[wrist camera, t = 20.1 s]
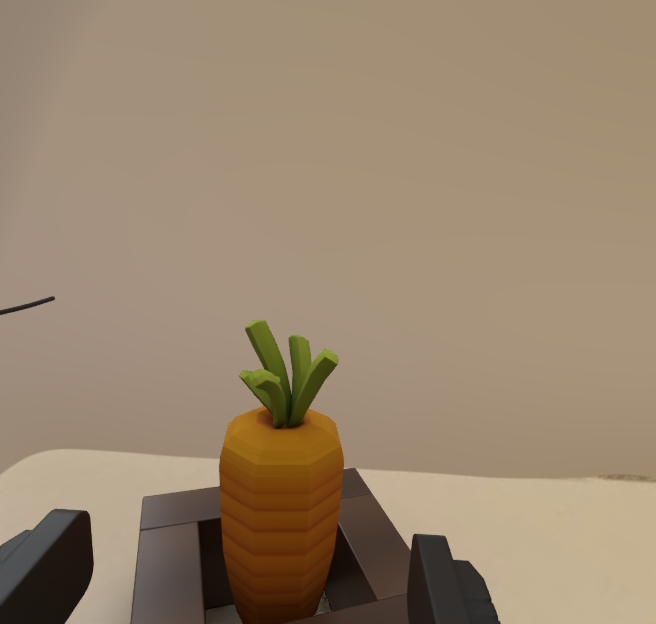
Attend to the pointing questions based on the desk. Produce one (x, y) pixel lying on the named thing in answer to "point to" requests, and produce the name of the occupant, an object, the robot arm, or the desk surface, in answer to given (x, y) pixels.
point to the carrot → (280, 486)
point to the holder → (211, 573)
